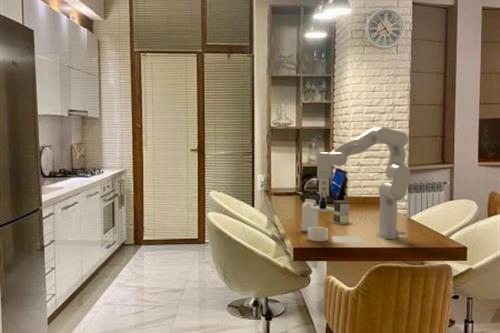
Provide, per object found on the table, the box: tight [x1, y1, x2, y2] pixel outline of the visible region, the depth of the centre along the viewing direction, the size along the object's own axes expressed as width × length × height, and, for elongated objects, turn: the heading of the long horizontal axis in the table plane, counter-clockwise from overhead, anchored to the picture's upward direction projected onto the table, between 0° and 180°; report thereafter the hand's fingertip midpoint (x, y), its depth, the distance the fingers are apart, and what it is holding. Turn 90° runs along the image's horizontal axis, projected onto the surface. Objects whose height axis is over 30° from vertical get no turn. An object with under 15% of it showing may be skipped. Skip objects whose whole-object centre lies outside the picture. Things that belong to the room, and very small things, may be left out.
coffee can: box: [332, 199, 350, 225], centre depth 323 cm, size 10×10×14 cm
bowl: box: [307, 226, 329, 242], centre depth 272 cm, size 11×11×6 cm
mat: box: [331, 235, 364, 245], centre depth 270 cm, size 16×16×1 cm
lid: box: [311, 199, 335, 213], centre depth 270 cm, size 13×13×5 cm
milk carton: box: [301, 198, 319, 233], centre depth 294 cm, size 7×7×19 cm
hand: (322, 207), depth 270 cm, fingers closed on lid, 4 cm apart
